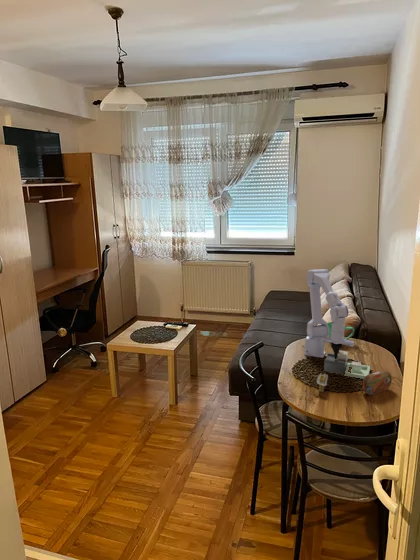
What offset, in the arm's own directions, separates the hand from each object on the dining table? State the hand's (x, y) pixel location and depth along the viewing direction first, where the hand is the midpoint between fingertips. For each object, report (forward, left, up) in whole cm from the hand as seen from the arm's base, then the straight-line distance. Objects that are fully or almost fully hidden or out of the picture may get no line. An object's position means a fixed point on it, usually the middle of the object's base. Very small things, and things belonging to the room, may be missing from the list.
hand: (335, 358), depth 190 cm
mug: (-3, +37, -6) cm, 38 cm away
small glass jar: (-2, -22, -6) cm, 23 cm away
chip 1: (+3, 0, -1) cm, 3 cm away
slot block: (0, 0, -6) cm, 6 cm away
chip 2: (+7, 0, -3) cm, 8 cm away
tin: (+19, -15, -6) cm, 25 cm away
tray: (+10, 0, -6) cm, 11 cm away
